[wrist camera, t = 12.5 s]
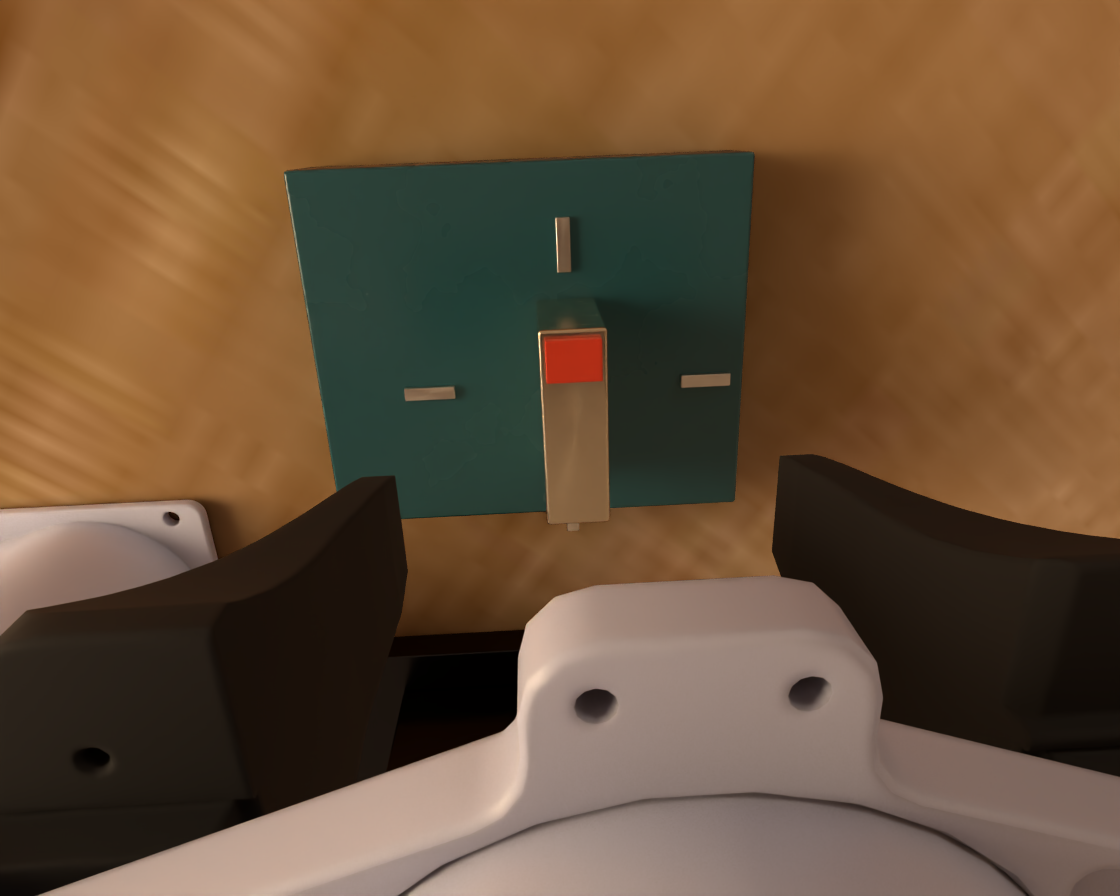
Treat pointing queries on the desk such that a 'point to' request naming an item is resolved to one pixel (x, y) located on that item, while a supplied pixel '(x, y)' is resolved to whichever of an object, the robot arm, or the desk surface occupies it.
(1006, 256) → the desk surface
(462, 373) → the panel
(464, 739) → the faucet stand
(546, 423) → the tan rectangular block
